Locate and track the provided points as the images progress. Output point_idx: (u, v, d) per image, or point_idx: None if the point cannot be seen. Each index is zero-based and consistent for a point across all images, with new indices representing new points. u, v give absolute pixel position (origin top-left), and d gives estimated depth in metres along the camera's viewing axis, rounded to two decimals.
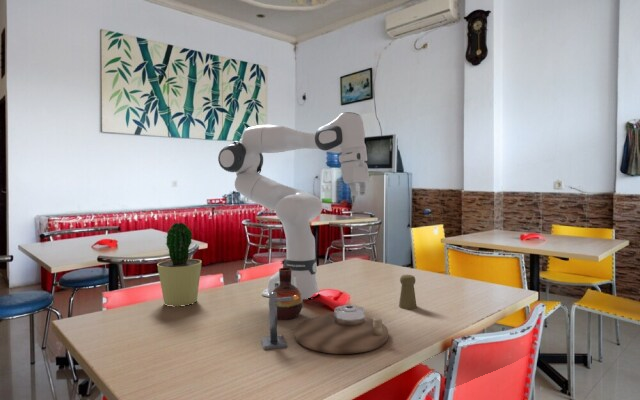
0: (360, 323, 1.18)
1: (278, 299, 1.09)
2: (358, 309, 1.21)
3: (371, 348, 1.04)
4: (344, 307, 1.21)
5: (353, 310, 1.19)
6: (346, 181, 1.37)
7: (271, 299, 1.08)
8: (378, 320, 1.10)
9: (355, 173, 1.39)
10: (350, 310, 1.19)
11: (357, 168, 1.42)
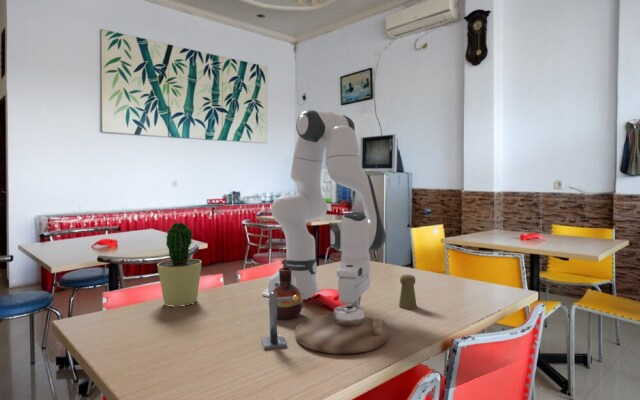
0: (360, 323, 1.18)
1: (278, 299, 1.09)
2: (358, 309, 1.21)
3: (371, 348, 1.04)
4: (344, 307, 1.20)
5: (353, 310, 1.19)
6: (343, 302, 1.17)
7: (271, 299, 1.08)
8: (378, 320, 1.10)
9: (354, 291, 1.19)
10: (350, 310, 1.19)
11: (357, 282, 1.22)
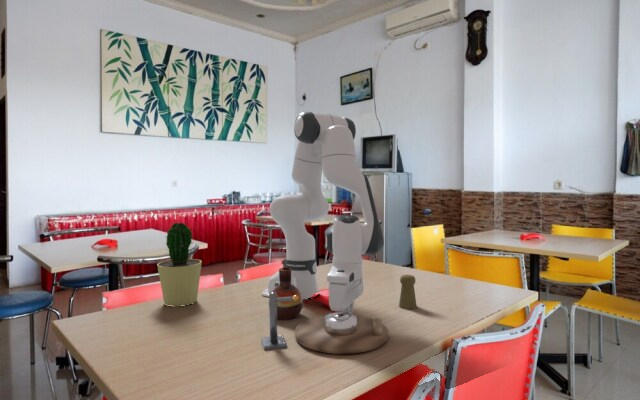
0: (352, 332, 1.11)
1: (278, 299, 1.09)
2: (350, 317, 1.14)
3: (371, 348, 1.04)
4: (335, 315, 1.14)
5: (345, 318, 1.12)
6: (333, 309, 1.11)
7: (271, 299, 1.08)
8: (378, 320, 1.10)
9: (345, 298, 1.12)
10: (341, 318, 1.12)
11: (349, 288, 1.16)
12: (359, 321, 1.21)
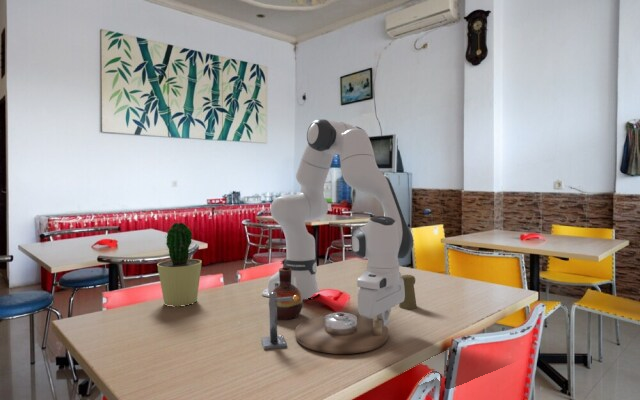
0: (352, 332, 1.11)
1: (278, 299, 1.09)
2: (350, 317, 1.14)
3: (371, 348, 1.04)
4: (335, 315, 1.14)
5: (345, 318, 1.12)
6: (362, 315, 1.05)
7: (271, 299, 1.08)
8: (378, 320, 1.10)
9: (376, 305, 1.06)
10: (341, 318, 1.12)
11: (382, 294, 1.09)
12: (359, 321, 1.21)
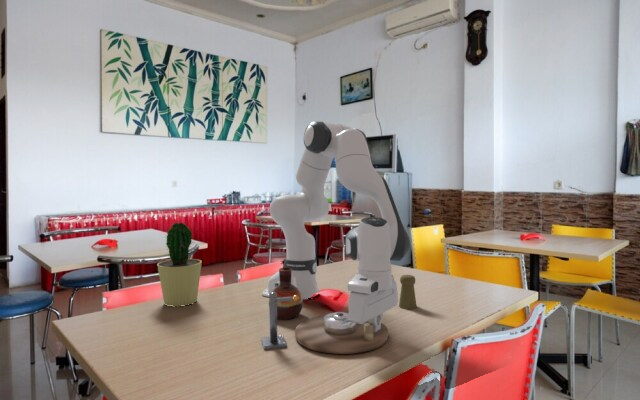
0: (345, 333, 1.10)
1: (278, 299, 1.09)
2: (349, 318, 1.13)
3: (350, 352, 1.02)
4: (334, 314, 1.14)
5: (340, 318, 1.12)
6: (353, 321, 1.01)
7: (271, 299, 1.08)
8: (368, 325, 1.06)
9: (367, 309, 1.01)
10: (337, 318, 1.12)
11: (374, 298, 1.05)
12: None
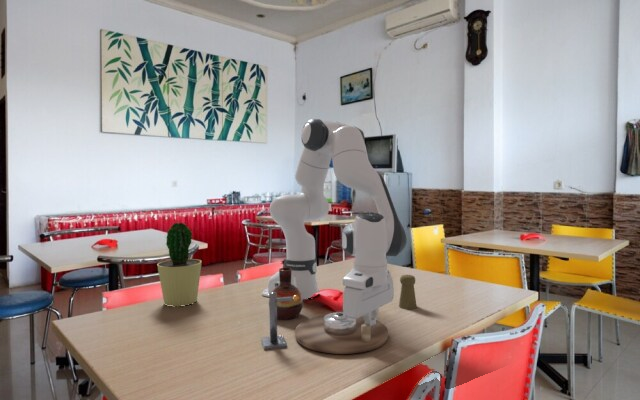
0: (343, 333, 1.10)
1: (278, 299, 1.09)
2: (348, 318, 1.13)
3: (345, 352, 1.02)
4: (334, 314, 1.15)
5: (339, 318, 1.12)
6: (347, 316, 1.01)
7: (271, 299, 1.08)
8: (365, 326, 1.05)
9: (362, 305, 1.01)
10: (336, 318, 1.12)
11: (369, 294, 1.04)
12: None
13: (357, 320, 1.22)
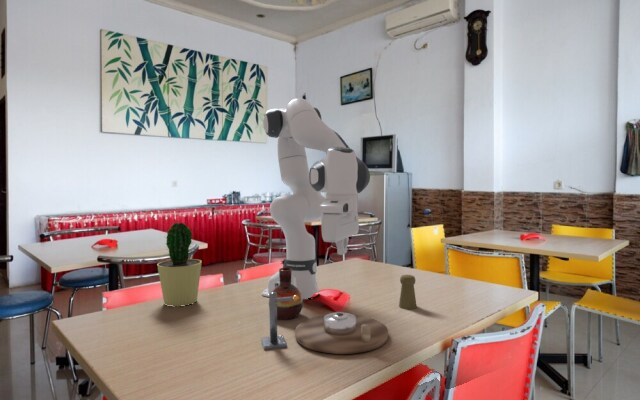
0: (343, 333, 1.10)
1: (278, 299, 1.09)
2: (348, 318, 1.13)
3: (345, 352, 1.02)
4: (334, 314, 1.15)
5: (339, 318, 1.12)
6: (326, 240, 1.06)
7: (271, 299, 1.08)
8: (365, 326, 1.05)
9: (339, 229, 1.07)
10: (336, 318, 1.12)
11: (343, 221, 1.11)
12: (369, 325, 1.17)
13: (357, 320, 1.22)
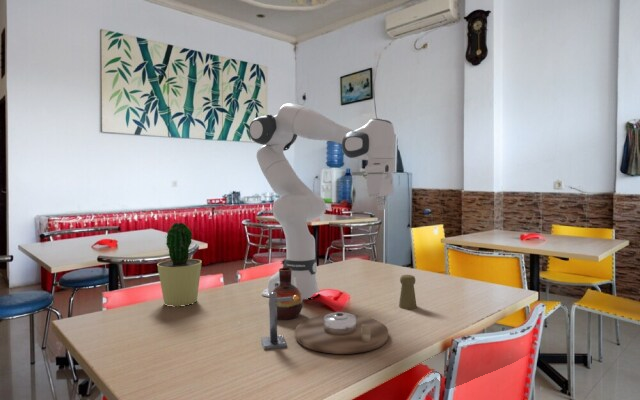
0: (343, 333, 1.10)
1: (278, 299, 1.09)
2: (348, 318, 1.13)
3: (345, 352, 1.02)
4: (334, 314, 1.15)
5: (339, 318, 1.12)
6: (371, 195, 1.26)
7: (271, 299, 1.08)
8: (365, 326, 1.05)
9: (381, 186, 1.28)
10: (336, 318, 1.12)
11: (383, 181, 1.31)
12: (369, 325, 1.17)
13: (357, 320, 1.22)
